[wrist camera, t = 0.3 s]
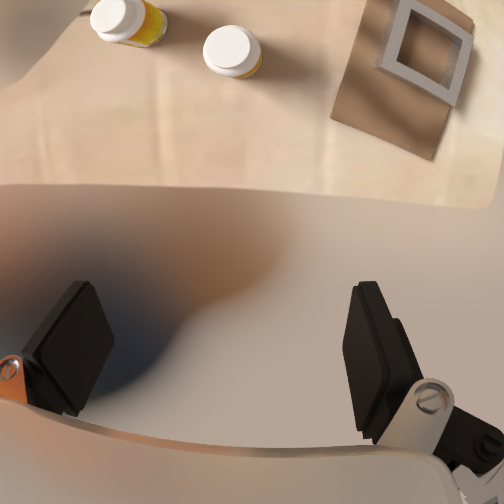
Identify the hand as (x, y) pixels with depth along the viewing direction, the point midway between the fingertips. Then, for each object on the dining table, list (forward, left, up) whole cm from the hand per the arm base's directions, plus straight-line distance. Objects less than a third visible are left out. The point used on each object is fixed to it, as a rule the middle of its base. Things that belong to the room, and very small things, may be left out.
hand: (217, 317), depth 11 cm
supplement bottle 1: (-12, -17, -29) cm, 36 cm away
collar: (-19, +15, -28) cm, 37 cm away
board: (-17, +14, -29) cm, 37 cm away
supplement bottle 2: (-10, -5, -29) cm, 31 cm away
